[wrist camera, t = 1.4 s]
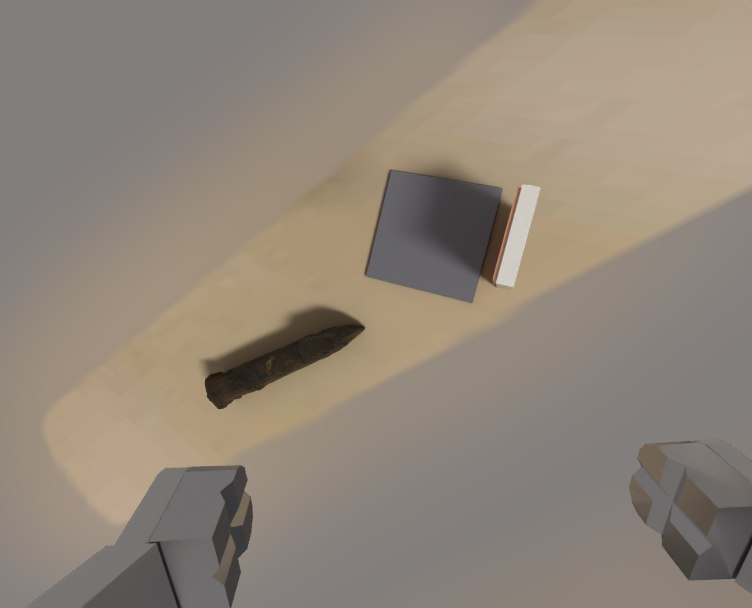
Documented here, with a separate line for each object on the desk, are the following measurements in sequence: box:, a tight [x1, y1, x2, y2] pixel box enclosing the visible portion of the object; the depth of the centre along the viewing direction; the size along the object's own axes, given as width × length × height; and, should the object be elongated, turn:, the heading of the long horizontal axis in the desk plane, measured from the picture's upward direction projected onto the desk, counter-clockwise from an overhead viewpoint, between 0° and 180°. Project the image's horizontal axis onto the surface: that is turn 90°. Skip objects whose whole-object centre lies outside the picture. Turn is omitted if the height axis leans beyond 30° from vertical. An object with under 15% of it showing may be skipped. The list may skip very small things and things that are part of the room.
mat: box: [366, 170, 502, 303], centre depth 39 cm, size 11×11×1 cm
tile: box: [492, 184, 541, 290], centre depth 32 cm, size 7×2×10 cm, turn 166°
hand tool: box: [205, 325, 365, 409], centre depth 42 cm, size 19×4×5 cm, turn 112°
